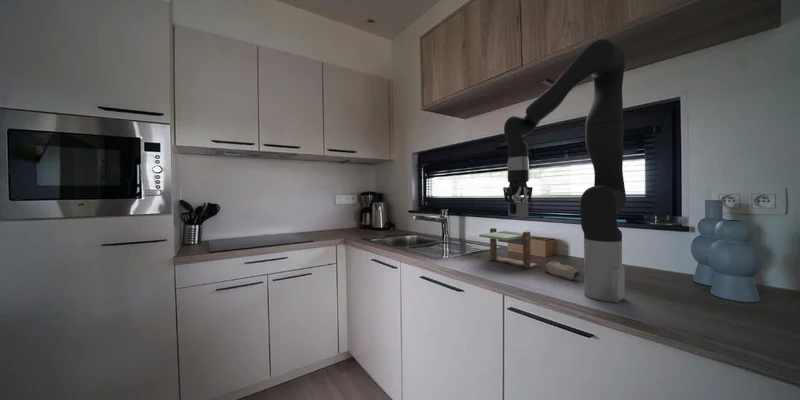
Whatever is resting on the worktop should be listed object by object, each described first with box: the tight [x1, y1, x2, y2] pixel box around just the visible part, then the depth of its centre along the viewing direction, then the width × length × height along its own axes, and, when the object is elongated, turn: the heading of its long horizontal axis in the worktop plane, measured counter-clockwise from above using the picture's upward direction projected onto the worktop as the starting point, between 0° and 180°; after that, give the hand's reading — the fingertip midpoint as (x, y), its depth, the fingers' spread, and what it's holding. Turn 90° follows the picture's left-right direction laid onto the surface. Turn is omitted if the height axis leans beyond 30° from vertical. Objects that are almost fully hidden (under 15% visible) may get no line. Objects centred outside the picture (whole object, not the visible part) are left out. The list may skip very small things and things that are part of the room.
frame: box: [489, 227, 538, 269], centre depth 126 cm, size 19×7×15 cm, turn 36°
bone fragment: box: [545, 260, 581, 281], centre depth 106 cm, size 14×6×5 cm, turn 5°
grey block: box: [507, 200, 529, 217], centre depth 108 cm, size 5×5×6 cm
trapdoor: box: [478, 230, 523, 246], centre depth 123 cm, size 14×18×4 cm
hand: (518, 213), depth 108 cm, fingers closed on grey block, 5 cm apart
